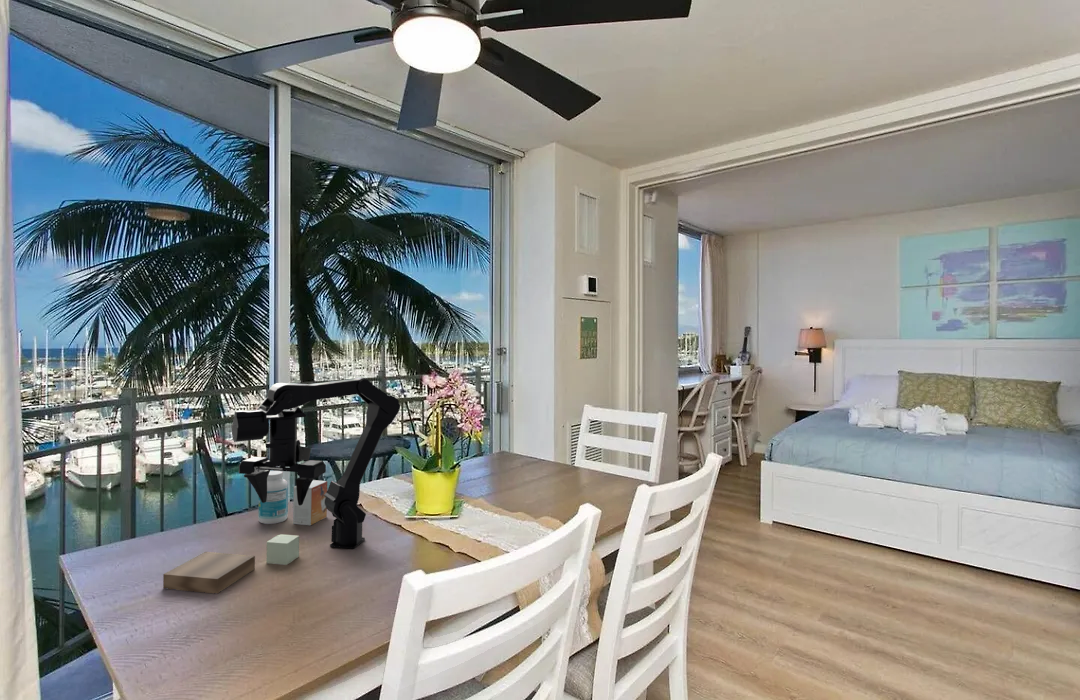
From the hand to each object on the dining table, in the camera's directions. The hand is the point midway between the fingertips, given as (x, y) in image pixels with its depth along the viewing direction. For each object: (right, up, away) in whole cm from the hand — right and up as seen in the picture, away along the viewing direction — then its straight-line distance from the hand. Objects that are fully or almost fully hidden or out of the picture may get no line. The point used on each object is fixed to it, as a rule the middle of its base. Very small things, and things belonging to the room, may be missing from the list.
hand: (282, 503), depth 130 cm
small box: (-4, -12, +27) cm, 30 cm away
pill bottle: (-15, -12, +26) cm, 32 cm away
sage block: (0, -13, 0) cm, 13 cm away
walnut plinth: (-10, -13, -11) cm, 20 cm away
